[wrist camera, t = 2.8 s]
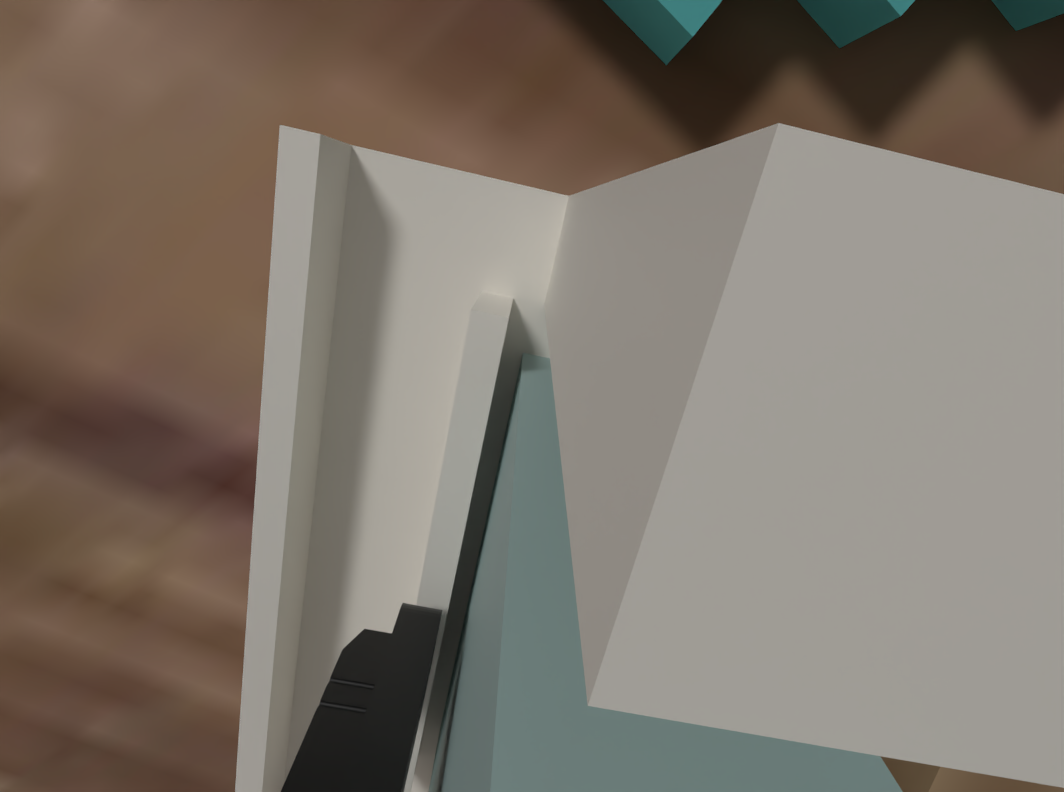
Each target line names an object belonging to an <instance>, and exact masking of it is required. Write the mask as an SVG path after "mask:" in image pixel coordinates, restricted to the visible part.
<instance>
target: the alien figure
mask: <svg viewBox="0 0 1064 792" xmlns="http://www.w3.org/2000/svg"><path fill="white" fill-rule="evenodd" d="M603 1H604V2H605V3H606V4H607V5H608V6H609V7H610V8H611V9H612V10H613V11H614V12H615V13H616V14H617V15H618V16H619V17H620V19H621V20H622V21H623V22H624V23H625V24H626V25H627V26H628V27H629V28H630V29H631V30H632V31H633V32H634V33H635V34H636V35H637V36H638V37H639V38H640V39H641V40H642V41H643V42H644V43H645V44H646V45H647V46H648V47H649V48H650V49H651V50H652V51H653V52H654V53H655V54H656V55H657V56H658V57H659V58H660V59H661V60H662V61H663V63H664V64H665V65H667V64H668V63H669V62H670V61H671V60H672V59H673V58H674V57H675V55H676V54H677V53H678V52H679V51H680V50H681V49H682V48H683V47H684V46H685V45H686V44H687V43H688V41H689V40H690V39H691V38H692V37H693V36H694V35H695V34H696V32H697V31H698V30H699V29H700V27H701V26H702V25H703V24H704V22H705V21H706V20H707V19H708V17H709V16H710V15H711V14H712V13H713V11H714V10H715V9H716V8H717V6H718V5H719V4H720V3H721V1H722V0H603ZM797 1H798V2H799V3H800V4H801V6H802V7H803V8H804V9H805V10H806V11H807V12H808V13H809V15H810V16H811V17H812V18H813V19H814V20H815V21H816V23H817V24H818V25H819V26H820V27H821V28H822V29H823V30H824V32H825V33H826V34H827V35H828V36H829V37H830V38H831V39H832V41H833V42H834V43H835V44H836V45H837V46H838V47H839V48H841V47H843V46H845V45H847V44H849V43H851V42H853V41H854V40H856V39H858V38H860V37H862V36H864V35H866V34H868V33H870V32H872V31H874V30H876V29H877V28H879V27H881V26H883V25H885V24H887V23H889V22H891V21H893V20H895V19H897V18H898V17H900V16H901V15H902V14H903V13H904V12H905V11H906V10H907V9H908V8H909V7H910V6H911V4H912V3H913V2H914V1H915V0H797ZM992 2H993V3H994V4H995V5H996V7H997V8H998V9H999V11H1000V12H1001V13H1002V14H1003V16H1004V17H1005V18H1006V19H1007V21H1008V22H1009V23H1010V25H1011V26H1012V27H1013V28H1014V30H1015V31H1017V30H1020V29H1023V28H1026V27H1028V26H1031V25H1034V24H1037V23H1039V22H1042V21H1045V20H1047V19H1050V18H1053V17H1056V16H1058V15H1061V14H1064V0H992Z"/></svg>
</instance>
